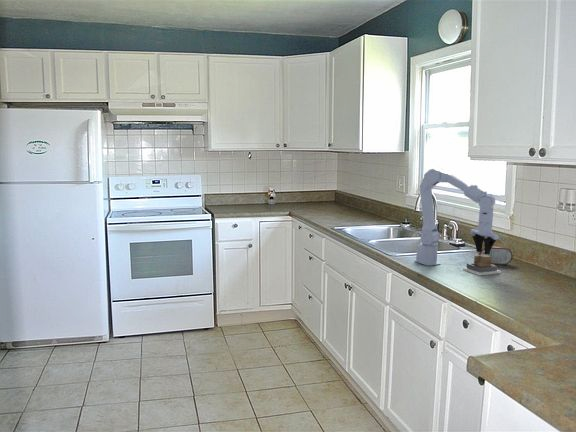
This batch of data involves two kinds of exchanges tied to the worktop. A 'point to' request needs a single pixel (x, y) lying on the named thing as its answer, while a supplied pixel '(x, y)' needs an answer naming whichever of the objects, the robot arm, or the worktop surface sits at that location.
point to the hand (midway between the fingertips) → (482, 252)
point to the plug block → (482, 260)
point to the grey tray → (481, 269)
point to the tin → (499, 255)
